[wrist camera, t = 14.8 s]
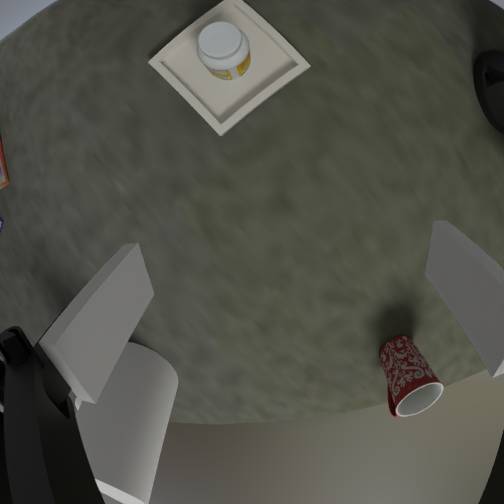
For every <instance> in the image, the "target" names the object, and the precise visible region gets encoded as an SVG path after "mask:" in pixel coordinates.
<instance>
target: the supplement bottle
mask: <svg viewBox="0 0 504 504" xmlns="http://www.w3.org/2000/svg"><path fill="white" fill-rule="evenodd" d="M197 55H198V57H199V59H200V61H201V62H202V63H203V64H204V66H205V67H206V68H207V69H208V70H209V72H210V73H211V74H212V75H213V76H215V77H216V78H218V79H221V80H234V79H237V78H239V77H241V76H242V75H244V74H245V73H246V71H247V70H248V68H249V66H250V62H251V57H250V45H249V40H248V38H247V36H246V35H245V33H244V32H243V31H241V30H240V29H238V28H237V27H236V26H235V25H233V24H231V23H229V22H224V21H220V22H214V23H211V24H209V25H208V26H206V27H205V28H204V29H203V30H202V31H201V33H200V35H199V38H198V44H197Z"/></svg>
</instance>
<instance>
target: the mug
mask: <svg viewBox="0 0 504 504" xmlns="http://www.w3.org/2000/svg"><path fill="white" fill-rule="evenodd" d="M380 361H381V364H382V366H383V369H384V372H385V376H386V378H387V381H388V404H389V408H390V412H391V414H392V415H393V416H395V417H398V416H403V417H405V416H411V415H415V414H417V413H420V412H422V411H424V410H425V409H427V408H428V407H430V406H431V405H432V404H433V403H434V402H435V401H436V400H437V399H438V398H439V397H440V395H441V394H442V392H443V384H442V383H441V382H440V381H439V380H438V379H437V377H436V375H435V374H434V372H433V371H432V369H431V368H430V366H429V365H428V363H427V362H426V360H425V359H424V357H423V356H422V354H421V353H420V351H419V350H418V349H417V347H416V346H415V344H414V343H413V341H412V340H411V339H410V338H409V337H407V336H399V337H396V338H393V339H391V340H390V341H389V342H387V343H386V344H385V345H384V346H383V348H382V349H381V351H380Z"/></svg>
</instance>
